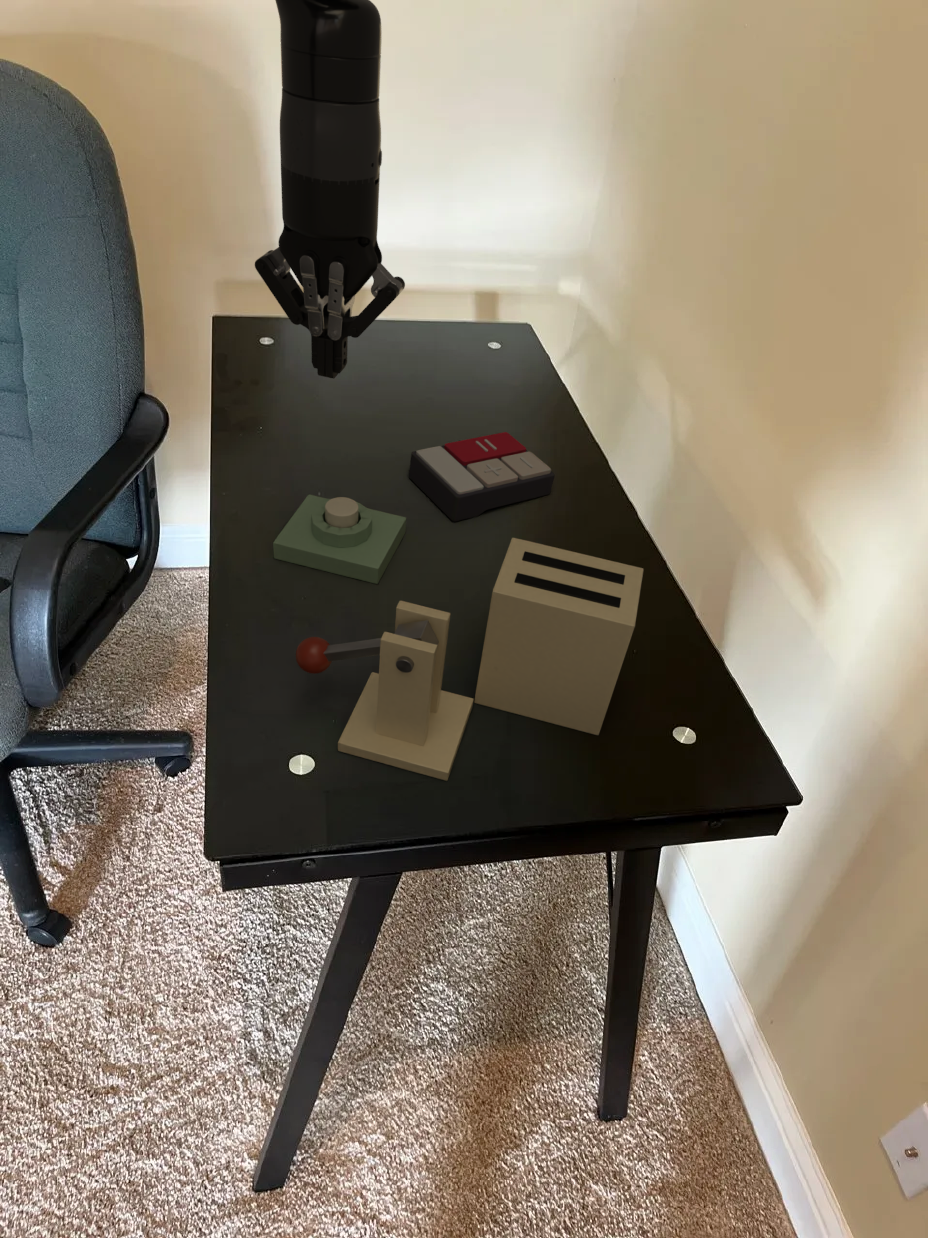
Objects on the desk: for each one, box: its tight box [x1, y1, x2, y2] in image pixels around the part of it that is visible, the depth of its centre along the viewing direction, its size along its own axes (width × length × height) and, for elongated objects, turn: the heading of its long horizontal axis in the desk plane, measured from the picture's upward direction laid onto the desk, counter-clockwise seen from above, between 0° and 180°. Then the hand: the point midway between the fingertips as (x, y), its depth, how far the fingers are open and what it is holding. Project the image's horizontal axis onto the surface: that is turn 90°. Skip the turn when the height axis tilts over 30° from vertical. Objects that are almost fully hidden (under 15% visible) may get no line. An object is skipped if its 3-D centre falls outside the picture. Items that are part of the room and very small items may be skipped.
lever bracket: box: [337, 600, 475, 782], centre depth 71 cm, size 10×9×13 cm
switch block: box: [272, 493, 407, 585], centre depth 92 cm, size 12×10×4 cm
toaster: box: [473, 537, 644, 736], centre depth 75 cm, size 12×8×14 cm, turn 76°
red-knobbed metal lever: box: [295, 620, 439, 675], centre depth 70 cm, size 13×3×3 cm, turn 73°
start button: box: [325, 496, 358, 528], centre depth 90 cm, size 4×4×2 cm
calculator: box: [408, 431, 556, 522], centre depth 104 cm, size 11×4×15 cm
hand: (329, 373), depth 75 cm, fingers closed
